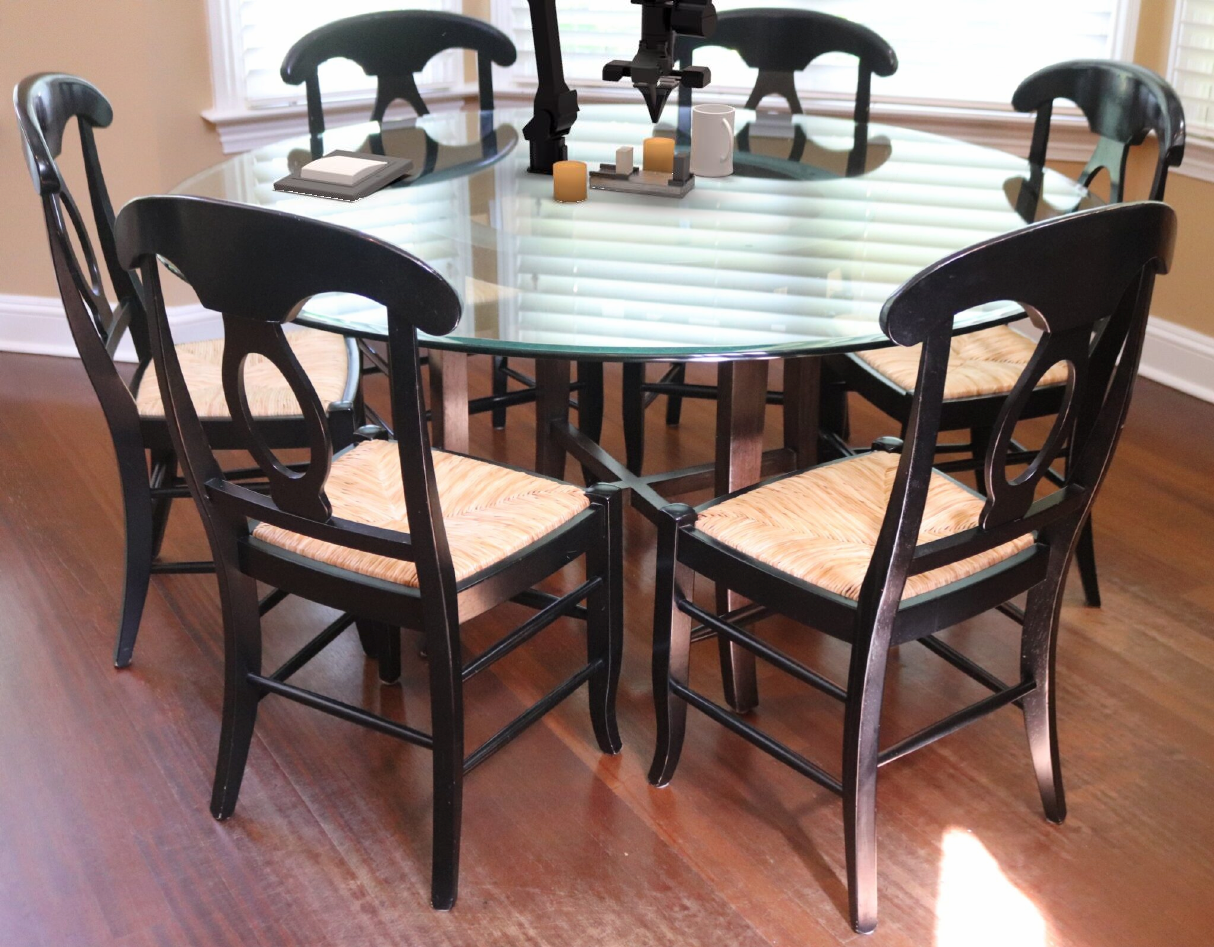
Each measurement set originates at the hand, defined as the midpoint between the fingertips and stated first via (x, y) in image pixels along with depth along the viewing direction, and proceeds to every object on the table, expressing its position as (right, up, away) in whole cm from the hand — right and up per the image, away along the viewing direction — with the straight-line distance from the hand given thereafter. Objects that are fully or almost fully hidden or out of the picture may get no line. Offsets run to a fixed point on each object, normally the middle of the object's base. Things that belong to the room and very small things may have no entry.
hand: (655, 123), depth 225 cm
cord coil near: (-15, -13, 0) cm, 20 cm away
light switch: (-58, -9, +9) cm, 59 cm away
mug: (+12, -6, +15) cm, 20 cm away
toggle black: (+5, -10, +3) cm, 11 cm away
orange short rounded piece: (+1, -5, +16) cm, 17 cm away
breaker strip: (-2, -10, +7) cm, 12 cm away
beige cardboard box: (-5, -8, +7) cm, 12 cm away
